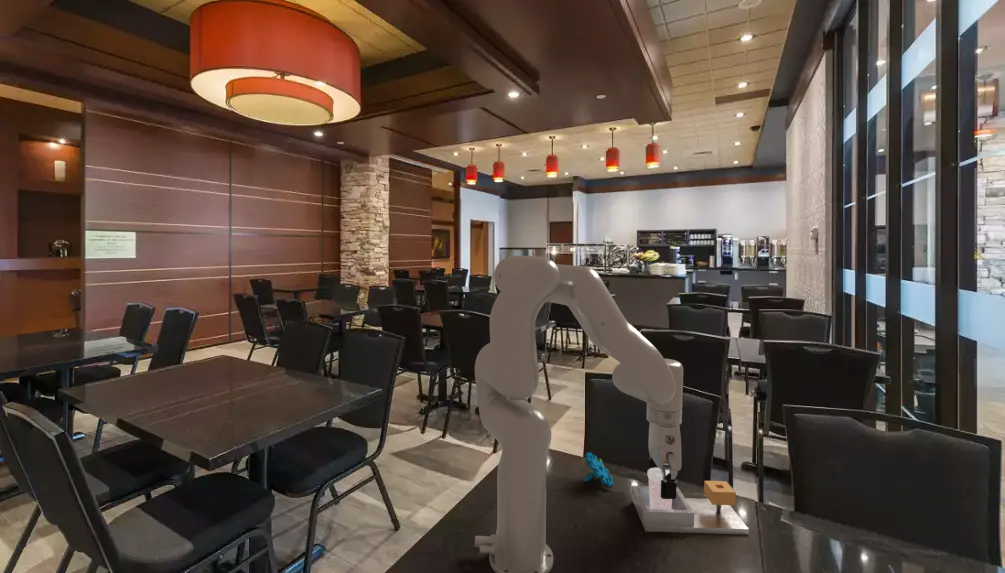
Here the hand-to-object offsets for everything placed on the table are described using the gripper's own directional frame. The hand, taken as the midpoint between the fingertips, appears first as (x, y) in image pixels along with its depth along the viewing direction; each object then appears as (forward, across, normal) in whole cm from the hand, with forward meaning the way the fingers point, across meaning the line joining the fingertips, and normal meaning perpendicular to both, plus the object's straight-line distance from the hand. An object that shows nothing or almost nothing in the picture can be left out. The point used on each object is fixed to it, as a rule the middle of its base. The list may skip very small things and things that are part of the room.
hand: (661, 486), depth 107 cm
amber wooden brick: (+3, 0, -13) cm, 13 cm away
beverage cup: (+6, 0, 0) cm, 6 cm away
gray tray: (+7, 0, -6) cm, 9 cm away
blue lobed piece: (+7, +15, +12) cm, 21 cm away
